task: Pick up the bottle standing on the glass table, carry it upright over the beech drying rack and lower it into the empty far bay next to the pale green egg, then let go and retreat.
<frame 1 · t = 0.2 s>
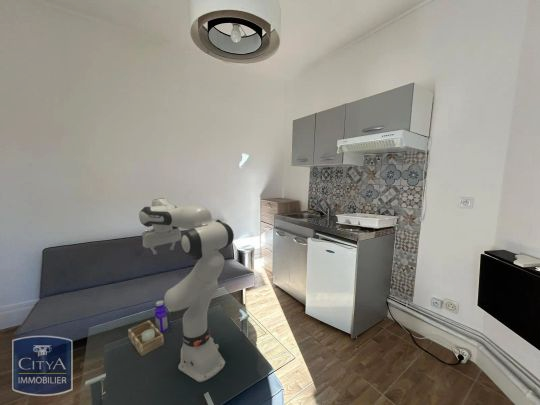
hand: (163, 251, 129), 47 cm above the table, fingers open, 8 cm apart
rack: (146, 342, 125), on the table
pale green egg: (149, 345, 121), point 1 cm above the table, touching rack
bottle: (162, 330, 135), on the table
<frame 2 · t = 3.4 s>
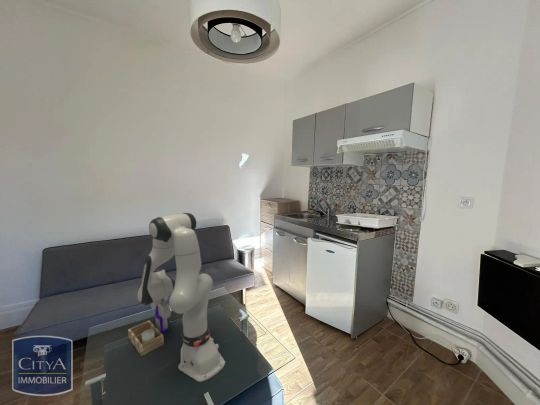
hand: (161, 319, 134), 7 cm above the table, fingers closed on bottle, 7 cm apart
bottle: (162, 330, 135), on the table, touching gripper
everything else where it was.
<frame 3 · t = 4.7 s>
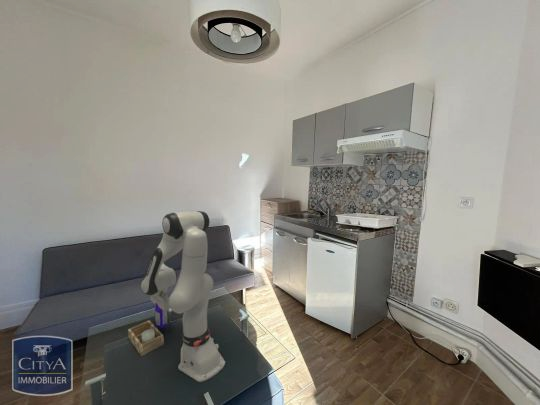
hand: (161, 312, 133), 11 cm above the table, fingers closed on bottle, 7 cm apart
bottle: (161, 326, 133), point 4 cm above the table, touching gripper
everything else where it was.
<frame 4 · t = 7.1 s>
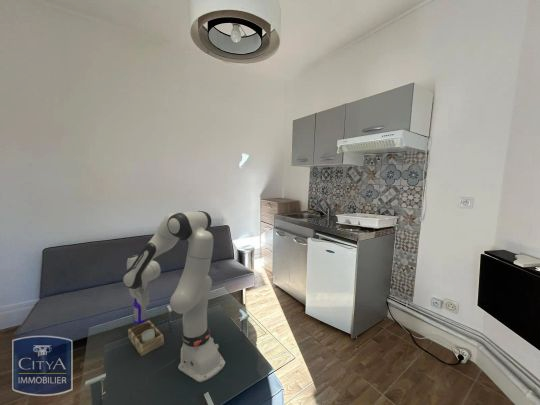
hand: (140, 308, 126), 18 cm above the table, fingers closed on bottle, 7 cm apart
bottle: (139, 322, 126), point 10 cm above the table, touching gripper
everything else where it was.
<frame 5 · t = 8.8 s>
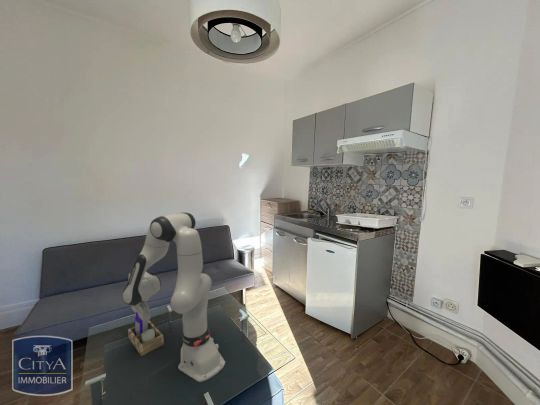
hand: (141, 322, 127), 10 cm above the table, fingers closed on bottle, 7 cm apart
bottle: (141, 336, 127), point 2 cm above the table, touching gripper
everything else where it was.
when the fingers open (10 cm above the table, at t = 9.5 s): bottle drops 1 cm, resting on rack.
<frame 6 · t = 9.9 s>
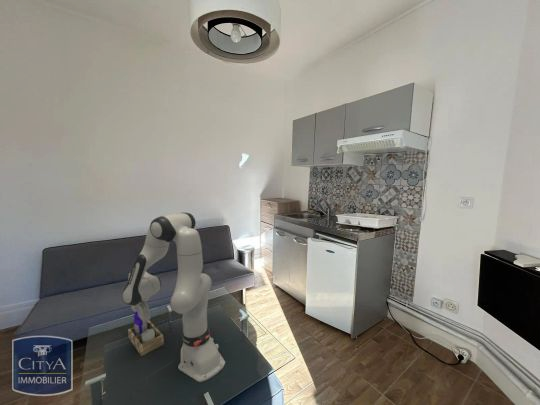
hand: (141, 322, 127), 10 cm above the table, fingers open, 8 cm apart
bottle: (141, 337, 128), point 1 cm above the table, touching gripper, rack
everything else where it was.
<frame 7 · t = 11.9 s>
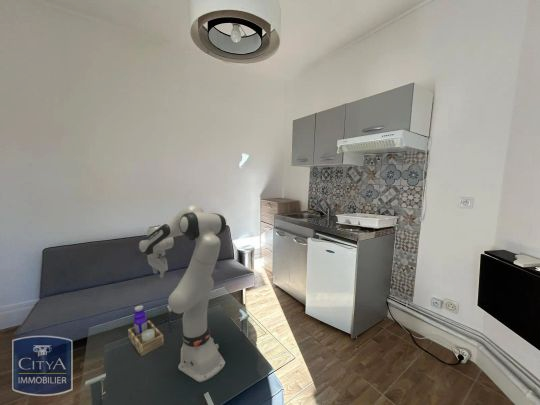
hand: (158, 275, 138), 31 cm above the table, fingers open, 8 cm apart
bottle: (141, 337, 128), point 1 cm above the table, touching rack
everything else where it was.
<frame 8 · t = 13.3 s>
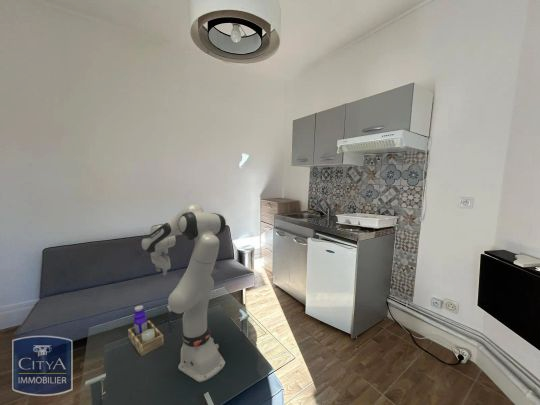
hand: (161, 273, 140), 31 cm above the table, fingers open, 8 cm apart
nothing on the table moved.
at the end: bottle 0.7 cm from the target spot on the rack, point 0.8 cm above the rack's base; bottle tilted 0°; the gripper is holding nothing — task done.
